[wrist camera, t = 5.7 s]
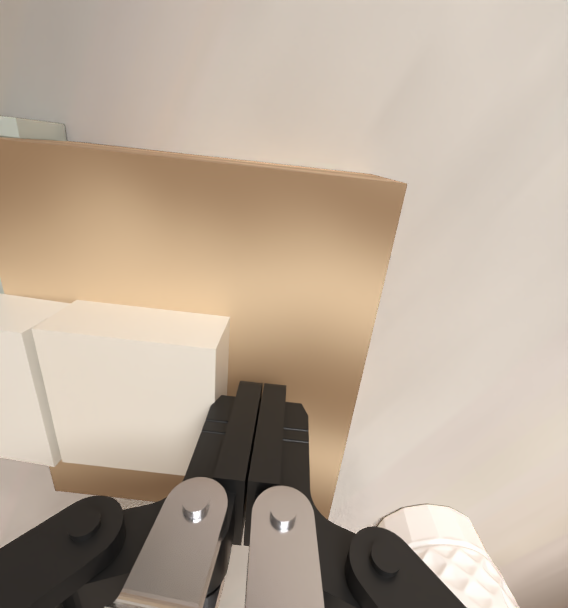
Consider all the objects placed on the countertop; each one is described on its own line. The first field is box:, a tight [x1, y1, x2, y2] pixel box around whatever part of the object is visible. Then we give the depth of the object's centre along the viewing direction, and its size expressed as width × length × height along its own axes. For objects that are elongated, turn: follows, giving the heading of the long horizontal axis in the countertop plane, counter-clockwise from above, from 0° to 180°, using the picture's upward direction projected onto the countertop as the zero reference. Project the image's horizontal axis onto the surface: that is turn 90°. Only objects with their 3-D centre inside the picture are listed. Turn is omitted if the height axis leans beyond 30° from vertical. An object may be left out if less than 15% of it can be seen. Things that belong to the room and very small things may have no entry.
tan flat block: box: [0, 137, 407, 519], centre depth 14 cm, size 14×12×5 cm
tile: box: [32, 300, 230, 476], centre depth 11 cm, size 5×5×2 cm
